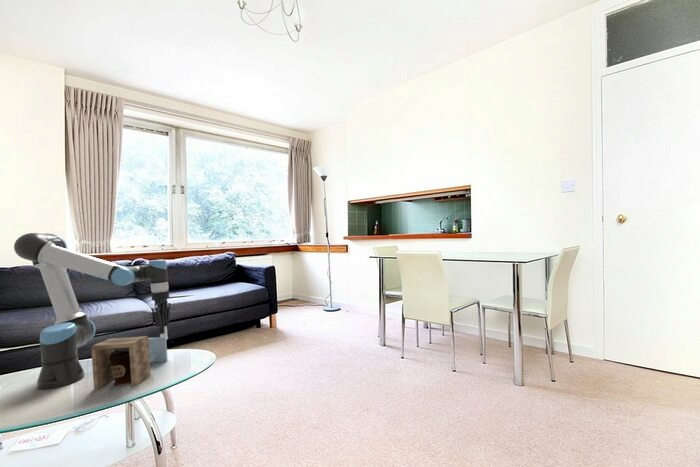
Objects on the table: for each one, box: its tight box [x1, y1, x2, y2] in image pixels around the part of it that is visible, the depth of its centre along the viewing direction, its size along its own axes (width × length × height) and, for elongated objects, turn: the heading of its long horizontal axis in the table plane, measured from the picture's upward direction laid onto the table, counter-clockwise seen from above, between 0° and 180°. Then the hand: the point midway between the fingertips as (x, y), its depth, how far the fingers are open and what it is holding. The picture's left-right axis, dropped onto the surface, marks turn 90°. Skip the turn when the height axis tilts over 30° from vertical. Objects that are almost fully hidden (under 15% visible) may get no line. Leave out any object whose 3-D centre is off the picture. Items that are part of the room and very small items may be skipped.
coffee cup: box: [109, 348, 131, 387], centre depth 137 cm, size 9×8×13 cm
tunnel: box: [91, 335, 152, 390], centre depth 137 cm, size 10×16×17 cm, turn 90°
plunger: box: [148, 336, 169, 364], centre depth 151 cm, size 18×11×11 cm, turn 0°
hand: (164, 339), depth 167 cm, fingers closed
